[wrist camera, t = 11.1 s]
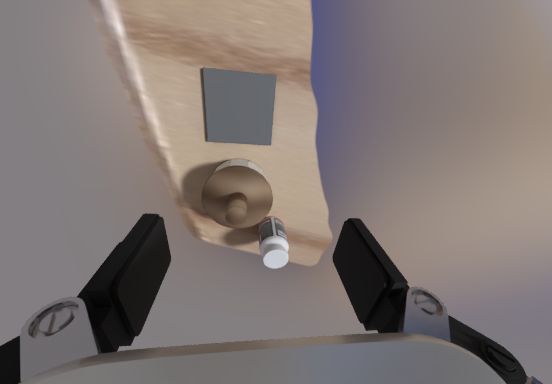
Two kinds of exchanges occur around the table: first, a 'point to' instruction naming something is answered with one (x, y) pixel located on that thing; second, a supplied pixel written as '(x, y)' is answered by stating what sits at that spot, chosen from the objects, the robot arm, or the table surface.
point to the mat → (239, 106)
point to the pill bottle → (273, 242)
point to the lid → (237, 197)
